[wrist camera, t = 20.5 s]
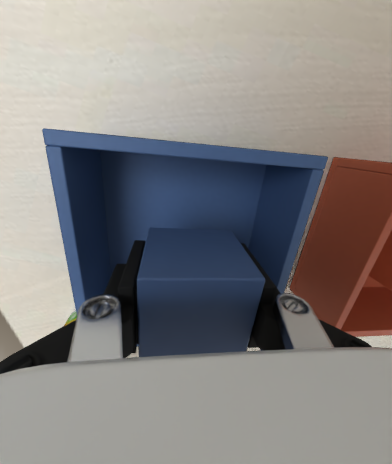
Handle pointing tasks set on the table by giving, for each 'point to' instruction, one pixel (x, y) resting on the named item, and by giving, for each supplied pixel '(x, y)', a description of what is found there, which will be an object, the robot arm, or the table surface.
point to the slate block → (195, 293)
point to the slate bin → (174, 199)
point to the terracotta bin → (349, 249)
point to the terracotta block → (384, 265)
